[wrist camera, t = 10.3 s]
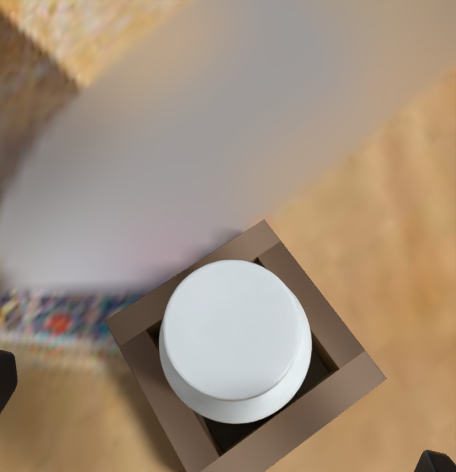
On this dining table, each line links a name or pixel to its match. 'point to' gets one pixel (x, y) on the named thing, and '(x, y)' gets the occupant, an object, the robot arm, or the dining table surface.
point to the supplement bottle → (234, 342)
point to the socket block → (286, 418)
